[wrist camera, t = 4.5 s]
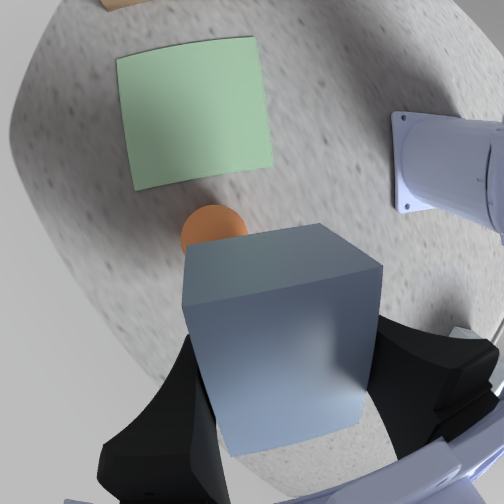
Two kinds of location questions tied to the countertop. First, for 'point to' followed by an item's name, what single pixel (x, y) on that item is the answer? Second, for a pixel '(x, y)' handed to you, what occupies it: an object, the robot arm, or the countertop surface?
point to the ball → (211, 225)
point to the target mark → (194, 111)
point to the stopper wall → (119, 3)
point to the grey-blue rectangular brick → (282, 333)
